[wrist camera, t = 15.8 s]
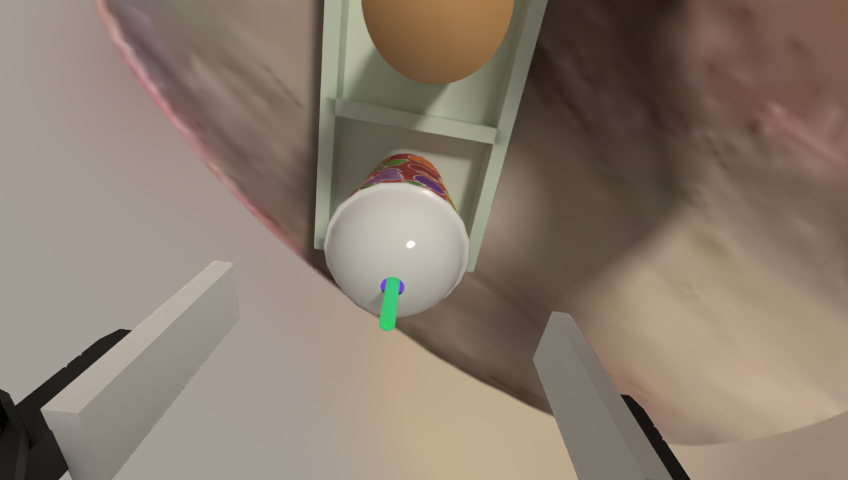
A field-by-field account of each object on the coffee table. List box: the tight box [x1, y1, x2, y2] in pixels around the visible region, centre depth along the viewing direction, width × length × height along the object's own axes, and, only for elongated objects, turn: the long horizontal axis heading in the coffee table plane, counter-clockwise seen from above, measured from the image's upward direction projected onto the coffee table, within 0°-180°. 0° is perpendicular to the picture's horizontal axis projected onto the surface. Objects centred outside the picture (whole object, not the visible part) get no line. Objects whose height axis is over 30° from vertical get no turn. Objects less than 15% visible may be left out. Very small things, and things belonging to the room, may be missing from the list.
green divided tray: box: [314, 0, 548, 272], centre depth 29 cm, size 26×15×4 cm, turn 170°
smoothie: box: [323, 153, 470, 331], centre depth 23 cm, size 8×8×20 cm
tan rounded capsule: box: [361, 0, 514, 84], centre depth 20 cm, size 6×6×14 cm
